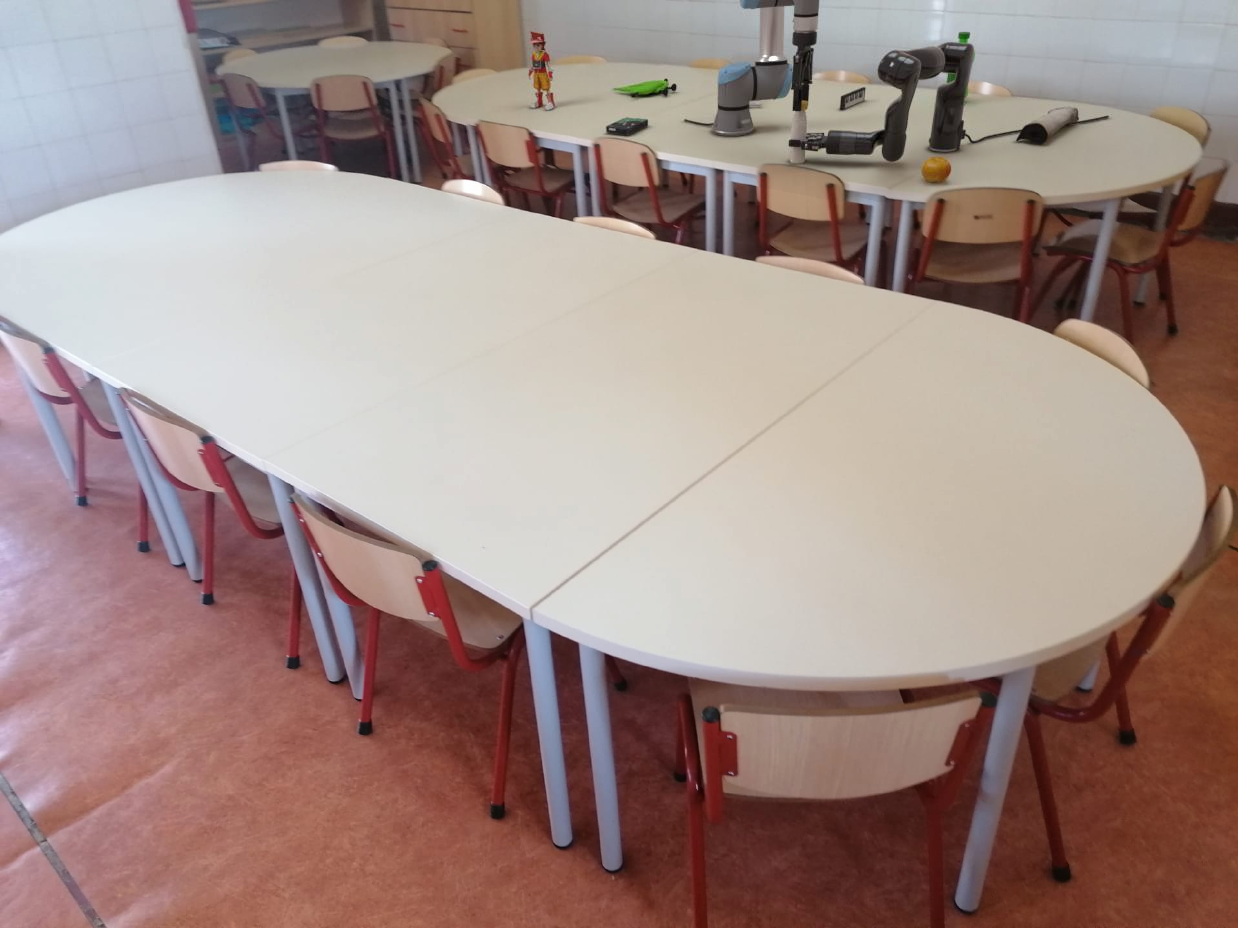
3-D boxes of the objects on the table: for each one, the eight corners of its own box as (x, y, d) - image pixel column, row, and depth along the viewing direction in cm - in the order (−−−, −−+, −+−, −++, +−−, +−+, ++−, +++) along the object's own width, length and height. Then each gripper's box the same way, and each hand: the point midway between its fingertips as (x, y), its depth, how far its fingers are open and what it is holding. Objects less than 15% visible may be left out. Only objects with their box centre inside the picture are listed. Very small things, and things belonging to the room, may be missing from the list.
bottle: (797, 158, 305) (800, 101, 294) (807, 161, 301) (811, 103, 291) (786, 161, 302) (789, 104, 292) (797, 164, 299) (800, 106, 288)
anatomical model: (728, 79, 370) (752, 73, 369) (732, 105, 376) (756, 98, 375) (735, 87, 358) (759, 81, 357) (739, 114, 364) (763, 107, 363)
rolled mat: (1045, 112, 324) (1070, 94, 316) (1059, 133, 324) (1084, 116, 316) (1011, 135, 307) (1037, 117, 298) (1026, 157, 307) (1052, 140, 299)
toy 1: (525, 109, 381) (517, 32, 364) (534, 104, 388) (527, 28, 371) (550, 110, 377) (543, 32, 360) (559, 105, 384) (553, 28, 367)
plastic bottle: (973, 101, 354) (984, 32, 339) (955, 106, 349) (966, 36, 335) (952, 97, 361) (962, 29, 346) (934, 102, 356) (944, 33, 342)
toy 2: (686, 85, 398) (631, 84, 414) (685, 72, 395) (629, 72, 411) (651, 104, 381) (596, 103, 397) (650, 92, 378) (594, 91, 394)
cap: (790, 109, 292) (791, 102, 291) (798, 106, 295) (798, 99, 294) (802, 111, 290) (803, 104, 288) (810, 108, 292) (810, 101, 291)
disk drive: (628, 136, 338) (648, 126, 348) (628, 129, 337) (648, 118, 347) (605, 134, 343) (625, 123, 353) (605, 126, 341) (625, 116, 351)
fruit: (915, 172, 274) (932, 149, 271) (916, 174, 282) (933, 152, 279) (938, 188, 273) (956, 164, 270) (939, 189, 281) (956, 167, 278)
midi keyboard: (842, 110, 354) (843, 96, 351) (839, 109, 354) (840, 96, 351) (864, 100, 364) (865, 87, 361) (861, 100, 365) (863, 87, 362)
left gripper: (803, 25, 287) (798, 100, 301) (783, 36, 274) (779, 115, 287) (826, 26, 284) (820, 102, 298) (807, 37, 271) (802, 116, 284)
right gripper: (846, 125, 297) (794, 123, 302) (840, 137, 286) (787, 135, 291) (843, 148, 301) (793, 146, 306) (838, 160, 290) (785, 158, 295)
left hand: (800, 108), depth 292 cm, fingers open, 6 cm apart
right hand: (790, 141), depth 299 cm, fingers closed on bottle, 5 cm apart
